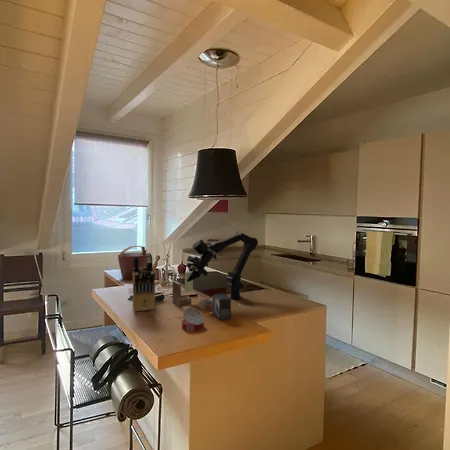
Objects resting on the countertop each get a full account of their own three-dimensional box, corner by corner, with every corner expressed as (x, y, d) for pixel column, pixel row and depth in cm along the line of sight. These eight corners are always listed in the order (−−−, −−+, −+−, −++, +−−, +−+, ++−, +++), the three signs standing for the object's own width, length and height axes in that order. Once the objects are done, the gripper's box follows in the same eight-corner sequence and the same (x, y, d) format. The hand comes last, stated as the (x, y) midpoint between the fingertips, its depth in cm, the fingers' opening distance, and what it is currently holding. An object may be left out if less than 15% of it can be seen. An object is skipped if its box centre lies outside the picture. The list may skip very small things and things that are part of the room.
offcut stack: (210, 306, 183) (210, 297, 183) (216, 309, 177) (216, 300, 177) (197, 308, 179) (197, 299, 179) (203, 311, 173) (203, 302, 173)
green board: (191, 290, 188) (191, 271, 187) (192, 291, 186) (193, 271, 186) (184, 291, 186) (185, 271, 185) (186, 292, 184) (186, 272, 184)
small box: (212, 314, 169) (212, 293, 169) (223, 312, 171) (224, 292, 171) (218, 320, 159) (219, 299, 159) (231, 319, 162) (231, 298, 161)
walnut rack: (188, 302, 191) (189, 279, 190) (195, 306, 183) (195, 282, 183) (172, 304, 186) (172, 281, 186) (178, 308, 178) (178, 284, 178)
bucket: (142, 274, 273) (142, 243, 272) (155, 278, 256) (155, 246, 255) (113, 277, 258) (113, 245, 257) (125, 282, 241) (124, 248, 240)
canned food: (199, 334, 154) (209, 314, 155) (198, 340, 144) (209, 319, 145) (178, 322, 154) (188, 303, 155) (175, 328, 144) (186, 307, 145)
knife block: (133, 317, 162) (132, 255, 161) (132, 299, 196) (132, 247, 195) (156, 316, 165) (156, 254, 164) (152, 298, 199) (152, 246, 198)
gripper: (188, 248, 195) (171, 269, 190) (202, 252, 179) (183, 274, 174) (200, 261, 199) (183, 281, 194) (215, 265, 183) (197, 287, 178)
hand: (186, 280), depth 185 cm, fingers closed on green board, 2 cm apart
